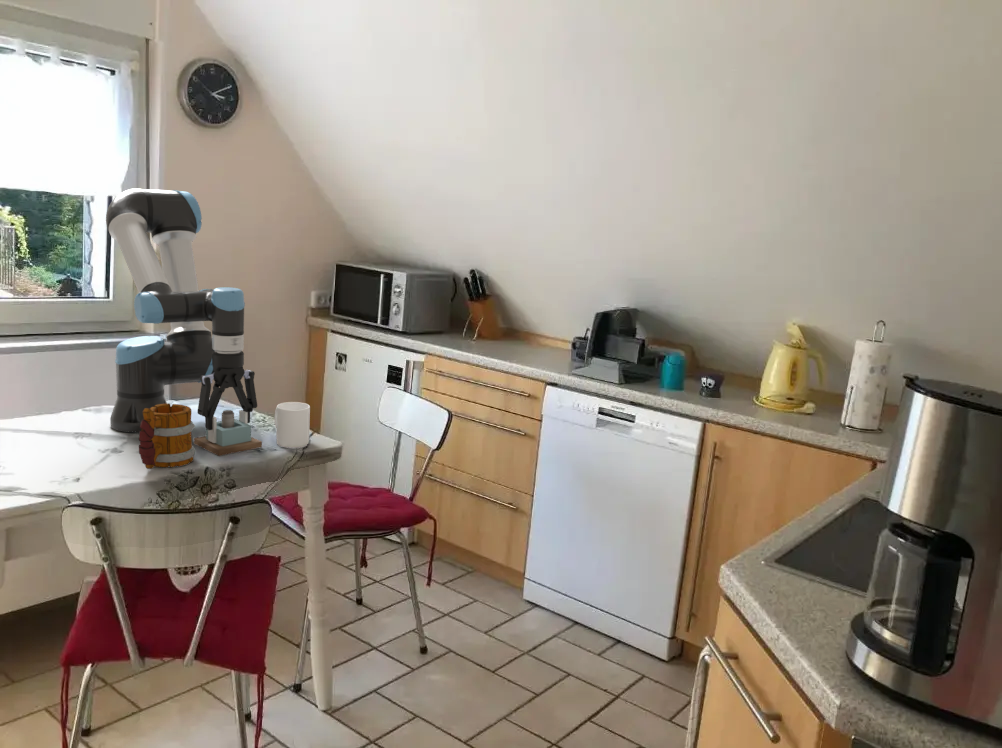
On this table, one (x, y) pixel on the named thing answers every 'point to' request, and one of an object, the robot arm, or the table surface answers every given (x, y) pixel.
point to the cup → (292, 424)
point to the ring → (232, 433)
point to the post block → (219, 450)
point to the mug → (166, 436)
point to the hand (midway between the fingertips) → (228, 438)
